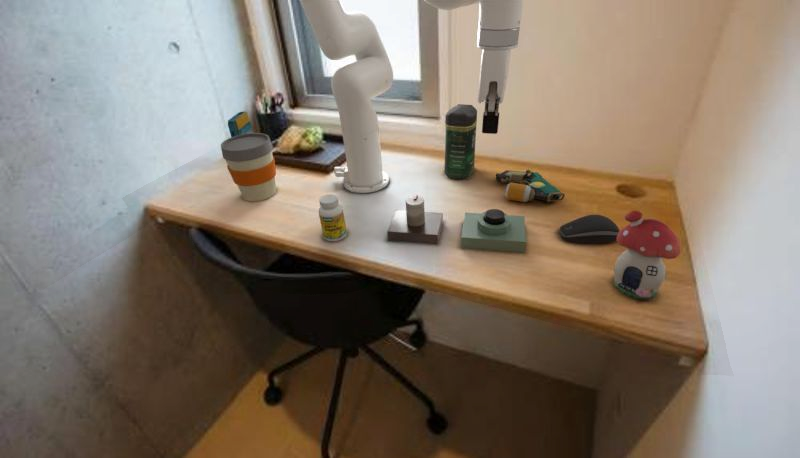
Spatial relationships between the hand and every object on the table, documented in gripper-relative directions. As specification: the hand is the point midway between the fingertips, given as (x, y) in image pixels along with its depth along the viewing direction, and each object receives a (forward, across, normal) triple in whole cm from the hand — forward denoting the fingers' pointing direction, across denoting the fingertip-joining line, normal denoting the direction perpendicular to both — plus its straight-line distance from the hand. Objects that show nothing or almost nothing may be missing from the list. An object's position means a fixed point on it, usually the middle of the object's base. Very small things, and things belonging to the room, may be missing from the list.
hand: (489, 131), depth 87 cm
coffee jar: (+20, -21, -8) cm, 30 cm away
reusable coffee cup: (+21, -2, -60) cm, 64 cm away
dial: (+18, +10, -14) cm, 25 cm away
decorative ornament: (+20, +22, +28) cm, 41 cm away
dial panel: (+20, +10, -14) cm, 27 cm away
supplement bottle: (+21, +14, -32) cm, 41 cm away
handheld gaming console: (+22, -21, -74) cm, 80 cm away
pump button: (+16, +10, +3) cm, 19 cm away
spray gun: (+20, -12, +10) cm, 26 cm away
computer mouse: (+20, +6, +23) cm, 31 cm away
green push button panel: (+20, +10, +3) cm, 22 cm away
